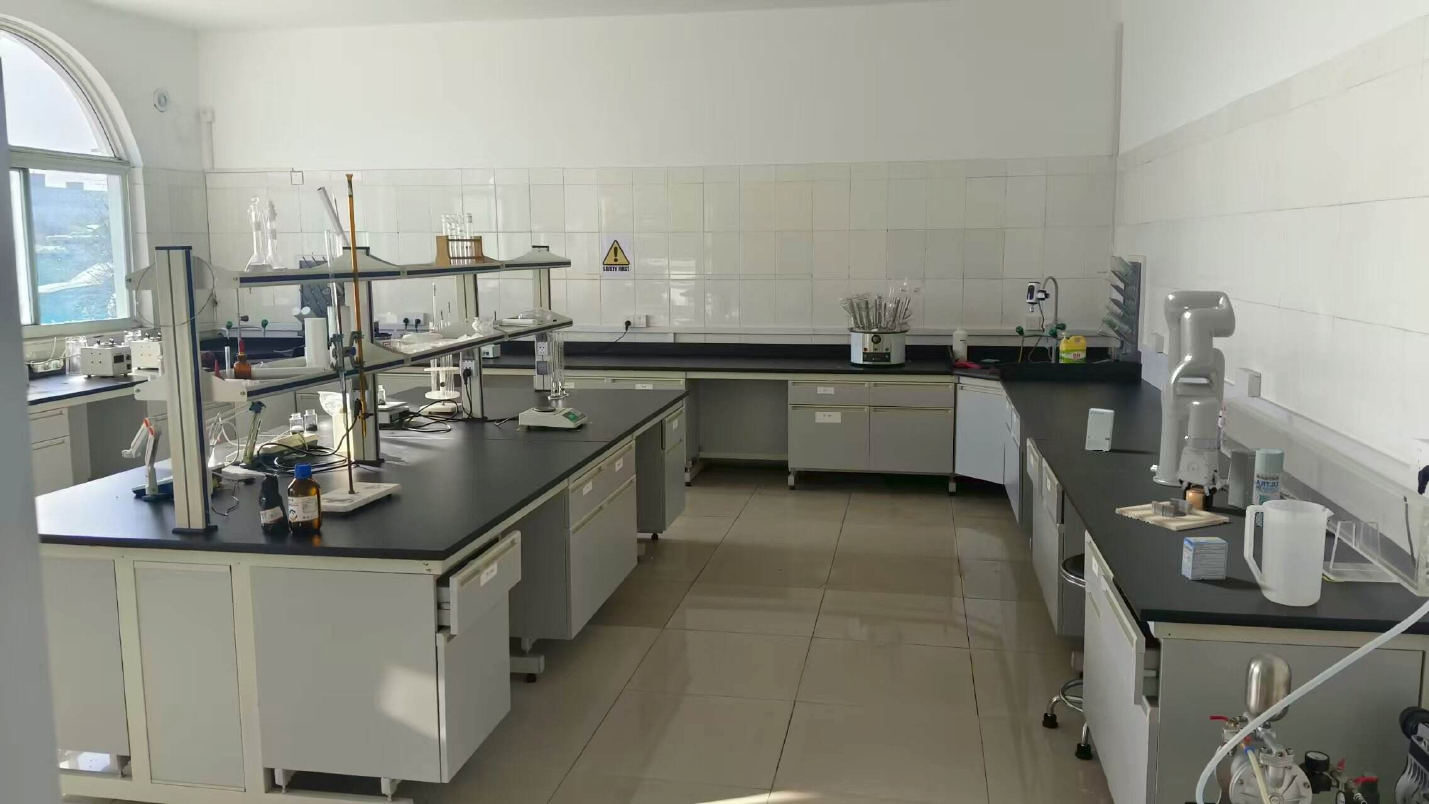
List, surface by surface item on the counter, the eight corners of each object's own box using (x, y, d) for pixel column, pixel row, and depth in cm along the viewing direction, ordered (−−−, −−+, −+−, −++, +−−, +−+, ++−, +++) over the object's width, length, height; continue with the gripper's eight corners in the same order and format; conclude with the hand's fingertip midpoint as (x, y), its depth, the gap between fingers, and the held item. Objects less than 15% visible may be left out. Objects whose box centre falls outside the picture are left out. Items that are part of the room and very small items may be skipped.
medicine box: (1215, 573, 234) (1218, 536, 233) (1225, 580, 230) (1228, 542, 229) (1180, 574, 234) (1183, 536, 233) (1190, 580, 230) (1193, 542, 228)
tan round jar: (1180, 506, 296) (1182, 489, 295) (1195, 504, 298) (1196, 487, 297) (1198, 511, 290) (1199, 493, 290) (1213, 508, 293) (1214, 491, 292)
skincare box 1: (1085, 450, 377) (1087, 409, 375) (1087, 447, 382) (1090, 407, 380) (1109, 452, 373) (1112, 411, 371) (1111, 449, 379) (1114, 409, 376)
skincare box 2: (1243, 510, 291) (1248, 454, 289) (1225, 504, 298) (1229, 449, 296) (1268, 508, 293) (1273, 453, 291) (1249, 502, 300) (1253, 448, 298)
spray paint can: (1278, 524, 277) (1284, 450, 274) (1277, 529, 271) (1283, 454, 268) (1251, 520, 280) (1257, 447, 277) (1249, 526, 274) (1255, 451, 271)
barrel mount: (1115, 513, 288) (1116, 498, 287) (1167, 505, 296) (1168, 491, 296) (1175, 530, 270) (1176, 514, 269) (1228, 522, 278) (1229, 506, 278)
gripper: (1167, 439, 298) (1162, 500, 300) (1219, 449, 282) (1214, 514, 285) (1185, 437, 301) (1181, 497, 303) (1238, 447, 285) (1233, 511, 288)
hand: (1197, 505), depth 294 cm, fingers closed on tan round jar, 6 cm apart
